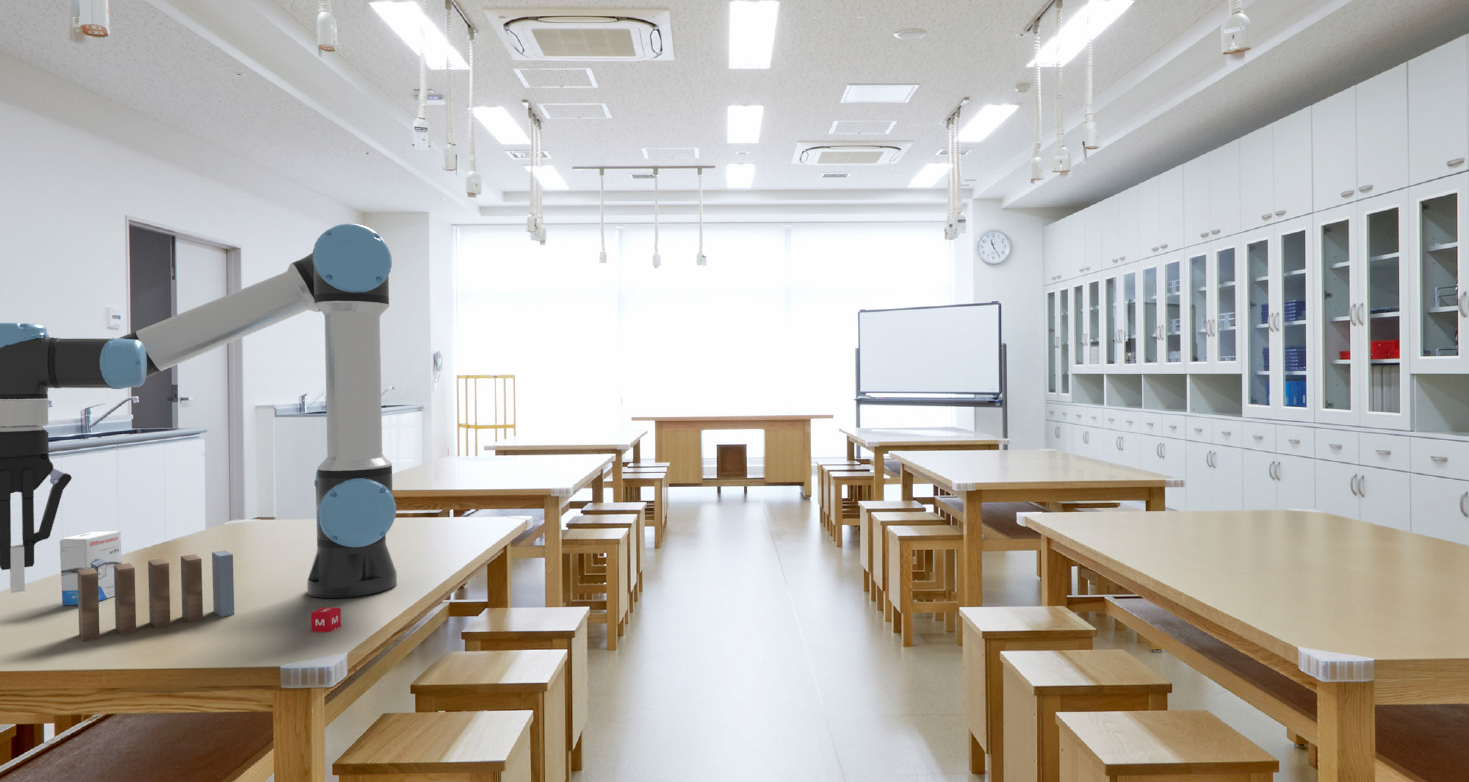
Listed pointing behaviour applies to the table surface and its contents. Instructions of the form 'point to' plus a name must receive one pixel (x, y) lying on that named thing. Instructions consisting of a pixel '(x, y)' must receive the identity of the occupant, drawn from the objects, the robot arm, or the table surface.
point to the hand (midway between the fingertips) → (17, 590)
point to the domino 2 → (159, 593)
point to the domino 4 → (223, 583)
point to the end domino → (88, 604)
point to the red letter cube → (325, 619)
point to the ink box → (89, 562)
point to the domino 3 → (191, 588)
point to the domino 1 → (125, 598)
